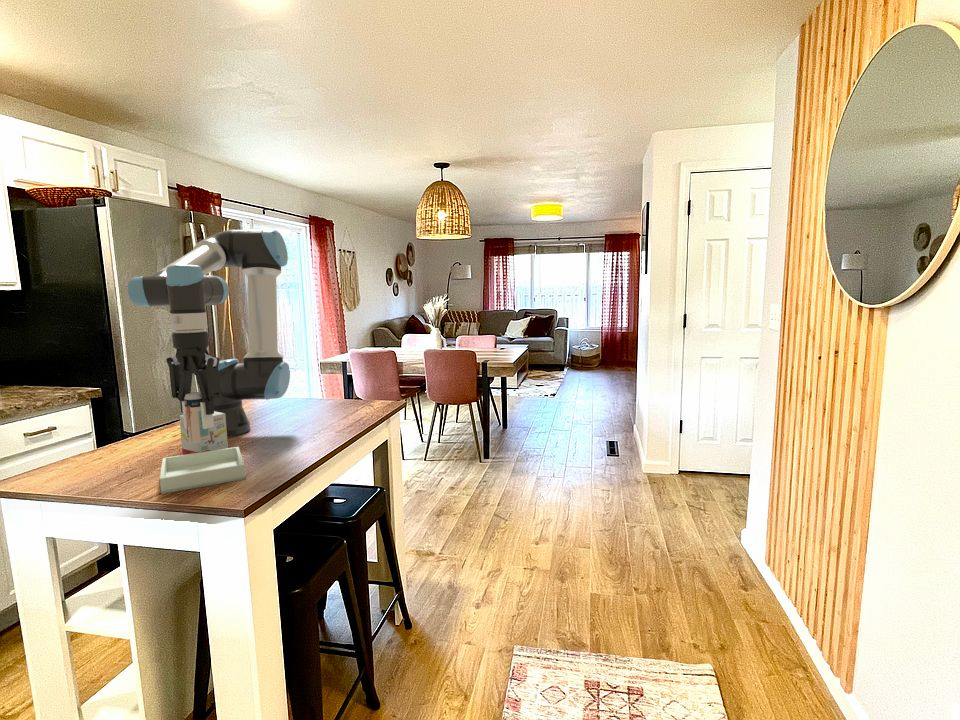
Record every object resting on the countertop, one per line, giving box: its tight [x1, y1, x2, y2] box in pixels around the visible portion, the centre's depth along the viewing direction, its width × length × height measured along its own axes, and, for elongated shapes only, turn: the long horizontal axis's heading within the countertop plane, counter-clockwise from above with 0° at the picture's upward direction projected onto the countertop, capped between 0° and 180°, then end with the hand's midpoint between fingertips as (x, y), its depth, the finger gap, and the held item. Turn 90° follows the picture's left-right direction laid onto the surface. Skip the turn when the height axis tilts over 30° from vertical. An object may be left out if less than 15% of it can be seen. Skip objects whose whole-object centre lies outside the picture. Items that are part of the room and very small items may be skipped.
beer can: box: [184, 391, 210, 444], centre depth 126 cm, size 5×5×12 cm
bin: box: [159, 446, 247, 495], centre depth 129 cm, size 17×17×4 cm
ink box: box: [179, 411, 229, 455], centre depth 144 cm, size 9×9×12 cm
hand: (199, 426), depth 127 cm, fingers closed on beer can, 5 cm apart
